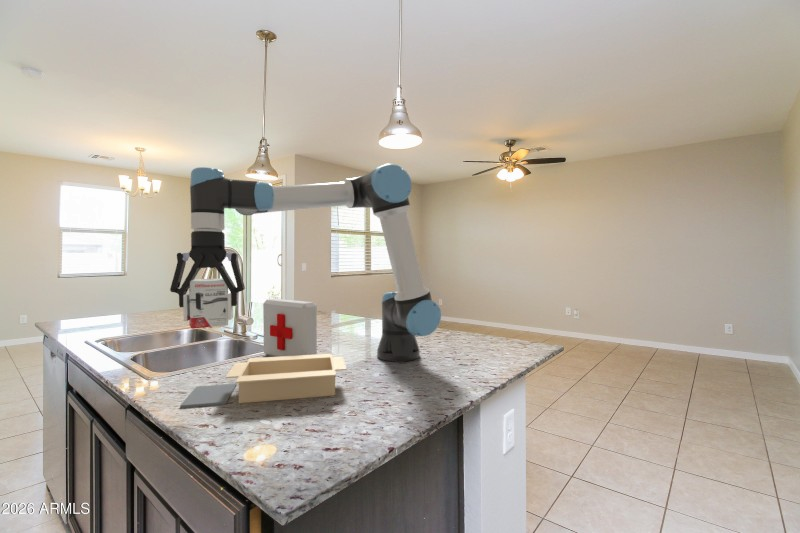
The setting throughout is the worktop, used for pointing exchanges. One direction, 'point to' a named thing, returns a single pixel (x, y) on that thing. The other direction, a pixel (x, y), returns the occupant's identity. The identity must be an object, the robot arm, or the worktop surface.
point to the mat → (209, 395)
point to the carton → (286, 377)
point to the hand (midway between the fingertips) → (209, 319)
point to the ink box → (208, 303)
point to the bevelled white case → (289, 327)
